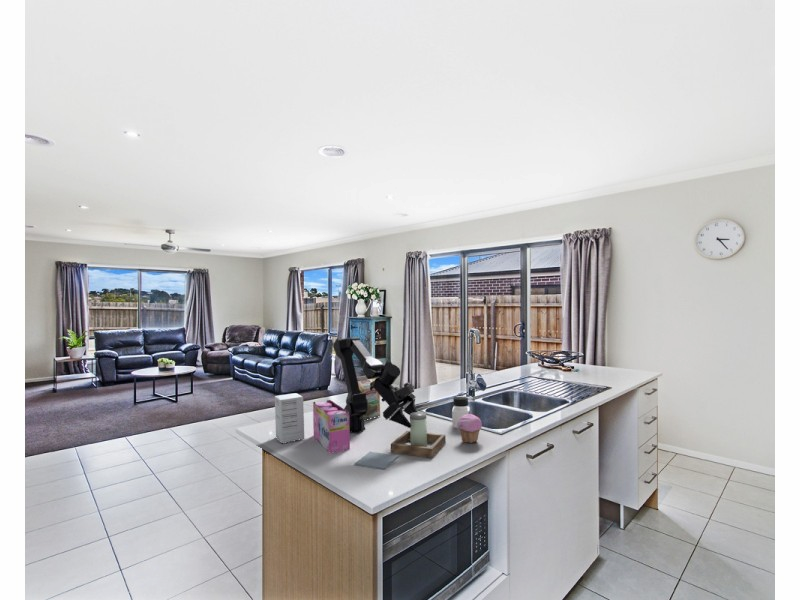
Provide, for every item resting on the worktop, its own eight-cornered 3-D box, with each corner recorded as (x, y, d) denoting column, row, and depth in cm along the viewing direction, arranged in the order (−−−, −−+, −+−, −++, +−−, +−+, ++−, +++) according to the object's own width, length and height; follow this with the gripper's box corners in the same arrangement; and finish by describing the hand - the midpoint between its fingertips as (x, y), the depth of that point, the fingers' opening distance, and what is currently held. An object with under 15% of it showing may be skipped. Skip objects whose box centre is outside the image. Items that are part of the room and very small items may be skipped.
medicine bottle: (469, 428, 164) (468, 399, 164) (452, 427, 166) (451, 399, 166) (470, 423, 171) (469, 395, 171) (453, 422, 173) (452, 395, 173)
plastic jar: (408, 449, 142) (407, 415, 143) (414, 443, 148) (413, 411, 148) (424, 451, 140) (423, 417, 140) (429, 445, 146) (428, 412, 146)
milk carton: (366, 412, 193) (365, 373, 193) (380, 416, 185) (379, 375, 186) (348, 417, 186) (347, 376, 186) (362, 421, 178) (360, 379, 178)
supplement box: (305, 439, 156) (303, 396, 156) (281, 444, 152) (280, 400, 152) (298, 433, 165) (297, 392, 165) (275, 437, 160) (274, 395, 160)
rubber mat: (354, 464, 130) (354, 463, 130) (369, 453, 140) (369, 451, 140) (384, 469, 126) (384, 467, 126) (398, 456, 136) (398, 455, 136)
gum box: (312, 434, 162) (311, 401, 162) (330, 431, 166) (329, 398, 166) (329, 453, 141) (328, 415, 141) (350, 449, 144) (349, 411, 145)
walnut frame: (390, 452, 140) (390, 443, 140) (407, 438, 154) (407, 430, 154) (432, 457, 134) (432, 449, 134) (445, 442, 148) (445, 434, 148)
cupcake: (468, 436, 155) (467, 410, 155) (487, 441, 149) (486, 414, 149) (453, 441, 149) (452, 415, 149) (472, 447, 143) (471, 419, 143)
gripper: (389, 381, 138) (420, 415, 134) (409, 372, 155) (437, 402, 151) (370, 402, 141) (399, 436, 137) (392, 391, 158) (419, 421, 154)
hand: (415, 423), depth 144 cm, fingers open, 9 cm apart
